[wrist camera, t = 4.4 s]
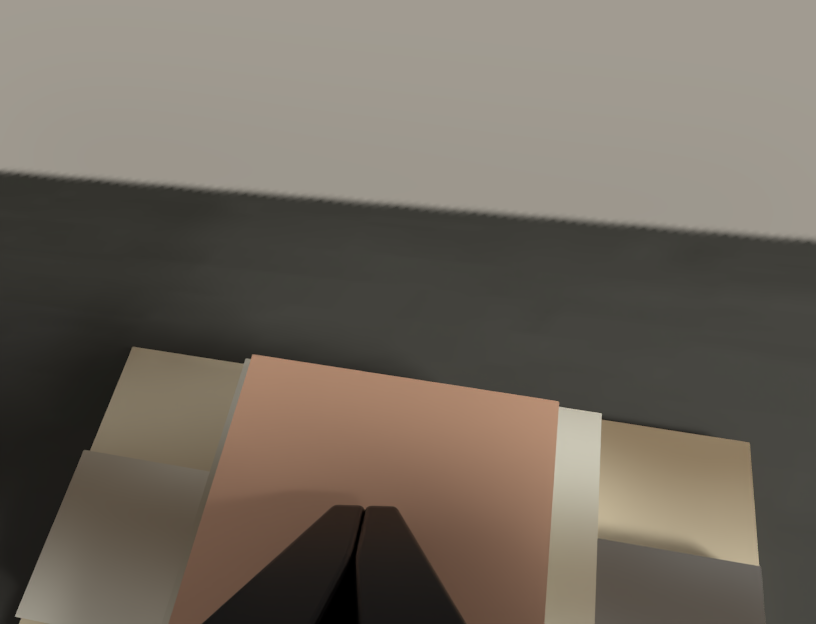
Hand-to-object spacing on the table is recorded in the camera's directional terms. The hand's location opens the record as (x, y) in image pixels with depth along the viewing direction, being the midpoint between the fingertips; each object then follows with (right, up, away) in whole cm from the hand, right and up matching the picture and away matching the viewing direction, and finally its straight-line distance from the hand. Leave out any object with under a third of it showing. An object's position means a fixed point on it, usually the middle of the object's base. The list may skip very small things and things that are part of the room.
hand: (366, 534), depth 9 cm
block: (0, -4, +7) cm, 8 cm away
